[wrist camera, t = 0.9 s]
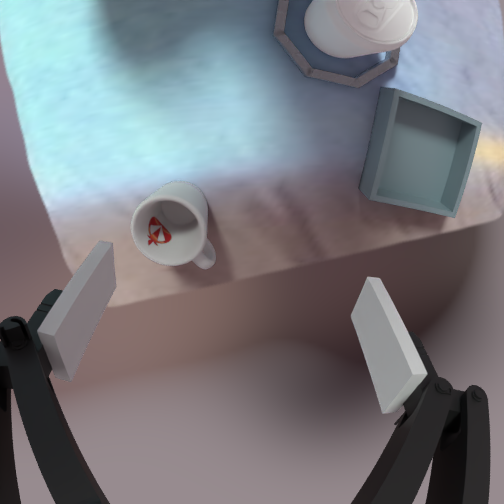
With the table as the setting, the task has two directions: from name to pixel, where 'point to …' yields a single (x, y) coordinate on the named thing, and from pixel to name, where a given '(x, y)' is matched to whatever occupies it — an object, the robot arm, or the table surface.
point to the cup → (174, 226)
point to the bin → (418, 154)
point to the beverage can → (360, 25)
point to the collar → (308, 71)
